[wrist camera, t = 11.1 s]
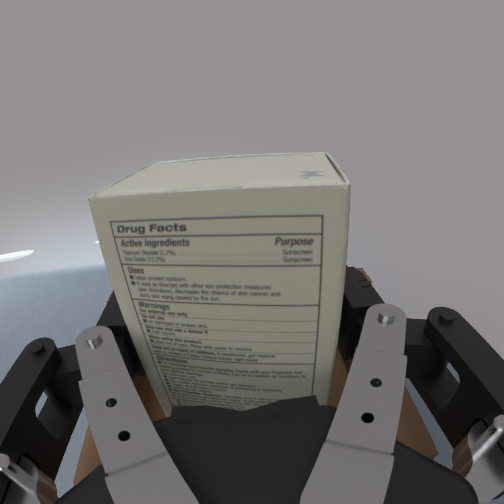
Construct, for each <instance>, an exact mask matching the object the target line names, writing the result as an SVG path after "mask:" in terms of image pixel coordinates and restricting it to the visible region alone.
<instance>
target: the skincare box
mask: <svg viewBox="0 0 504 504" xmlns="http://www.w3.org/2000/svg"><path fill="white" fill-rule="evenodd" d="M350 187H351V186H350V182H349V181H348V180H347V178H346V176H345V175H344V173H343V171H342V170H341V168H340V167H339V166H338V164H337V163H336V161H335V160H334V159H333V158H332V157H331V155H330V154H329V153H327V152H314V153H275V154H254V155H237V156H222V157H210V158H196V159H188V160H187V159H186V160H171V161H165V162H156V163H153V164H150V165H148V166H146V167H145V168H143V169H140V170H138V171H136V172H134V173H132V174H131V175H128V176H126V177H124V178H122V179H120V180H118V181H116V182H114V183H112V184H111V185H109V186H107V187H105V188H103V189H101V190H99V191H97V192H95V193H93V194H92V195H90V196H89V197H88V200H89V204H90V209H91V213H92V217H93V221H94V224H95V228H96V232H97V236H98V240H99V243H100V247H101V250H102V255H103V258H104V261H105V264H106V267H107V271H108V274H109V277H110V280H111V283H112V286H113V289H114V292H115V295H116V298H117V301H118V304H119V307H120V310H121V313H122V315H123V318H124V321H125V324H126V325H127V328H128V330H129V333H130V336H131V338H132V341H133V344H134V346H135V349H136V351H137V354H138V356H139V359H140V361H141V364H142V366H143V368H144V370H145V373H146V375H147V377H148V380H149V382H150V384H151V386H152V388H153V390H154V392H155V395H156V397H157V399H158V401H159V403H160V405H161V407H162V409H163V411H164V413H165V415H166V417H169V416H171V411H172V406H203V405H207V406H213V407H220V408H226V409H233V410H240V411H245V410H250V409H253V408H256V407H260V406H263V405H266V404H269V403H273V402H276V401H279V400H283V399H291V398H299V397H306V396H312V395H316V397H317V400H318V404H319V405H327V404H328V399H329V393H330V388H331V382H332V376H333V370H334V363H335V357H336V351H337V344H338V336H339V328H340V320H341V312H342V303H343V294H344V284H345V273H346V259H347V246H348V229H349V210H350Z"/></svg>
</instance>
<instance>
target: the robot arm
mask: <svg viewBox="0 0 504 504" xmlns="http://www.w3.org/2000/svg"><path fill="white" fill-rule="evenodd" d="M109 300H110V301H108V303H107V305H106V307H105V309H104V311H103V313H102V315H101V317H100V319H99V321H98V323H97V325H96V326H94V327H90V328H88V329H86V330H84V331H83V332H81V333H80V334H79V335H78V337H77V338H76V340H75V345H71V346H66V347H62V348H57V347H56V345H55V343H54V341H53V340H52V339H50V338H45V337H44V338H39V339H36V340H34V341H32V342H31V343H29V344H28V345H27V346H26V347H25V349H24V350H23V351H22V353H21V354H20V356H19V357H18V359H17V360H16V361H15V363H14V364H13V366H12V367H11V369H10V370H9V372H8V373H7V375H6V376H5V378H4V380H3V381H2V383H1V384H0V504H486V503H488V502H489V501H490V500H495V499H498V498H499V497H501V496H502V495H504V360H503V359H502V358H501V357H500V356H499V354H498V353H497V352H496V351H495V350H494V349H493V348H492V347H491V346H490V345H489V344H488V343H487V342H486V340H485V339H484V338H483V337H482V336H481V335H480V334H479V333H478V332H477V331H476V330H475V329H474V328H473V327H472V326H471V325H470V324H469V323H468V322H467V321H466V320H465V319H464V318H463V317H462V316H461V315H460V314H459V313H458V312H456V311H454V310H453V309H450V308H446V307H436V308H433V309H432V310H430V312H429V313H428V317H427V320H425V319H409V318H406V315H405V313H404V312H403V311H402V310H401V309H400V308H398V307H396V306H394V305H390V304H385V303H384V302H383V300H382V299H381V297H380V296H379V295H378V293H377V292H376V291H375V289H374V288H373V287H372V285H371V283H370V282H369V281H368V279H367V278H366V277H365V275H364V274H363V273H362V272H361V271H359V270H358V269H356V268H354V267H347V265H346V273H345V284H344V294H343V303H342V312H341V320H340V328H339V336H338V344H337V346H338V348H339V350H340V353H341V355H342V357H343V360H344V361H346V360H351V359H353V361H352V364H351V368H350V371H349V374H348V377H347V381H346V384H345V387H344V390H343V393H342V396H341V399H340V402H339V405H338V408H337V407H333V406H327V405H319V404H318V400H317V397H316V395H312V396H306V397H299V398H291V399H283V400H279V401H276V402H273V403H269V404H266V405H263V406H260V407H256V408H253V409H250V410H245V411H240V410H233V409H226V408H220V407H213V406H207V405H203V406H172V411H171V416H169V417H165V418H162V419H159V420H156V421H154V422H152V420H151V418H150V416H149V414H148V412H147V410H146V408H145V406H144V404H143V402H142V400H141V398H140V396H139V394H138V391H137V389H136V387H135V385H134V383H133V382H134V378H135V376H146V373H145V370H144V368H143V366H142V364H141V361H140V359H139V356H138V354H137V351H136V349H135V346H134V344H133V341H132V338H131V336H130V333H129V330H128V328H127V325H126V324H125V321H124V318H123V315H122V313H121V310H120V307H119V304H118V301H117V298H116V295H115V292H113V294H112V296H111V298H110V299H109ZM448 362H450V364H451V365H452V366H453V367H454V369H455V370H456V371H457V373H458V375H459V378H460V384H459V383H458V382H457V380H456V379H455V378H454V376H453V375H452V374H451V372H450V371H449V370H448V369H447V367H446V366H447V364H448ZM405 378H409V379H410V381H411V382H412V384H413V385H414V387H415V388H416V390H417V391H418V393H419V394H420V396H421V397H422V399H423V400H424V402H425V404H426V405H427V407H428V408H429V410H430V411H431V413H432V415H433V416H434V418H435V419H436V421H437V423H438V424H439V426H440V427H441V429H442V431H443V432H444V434H445V436H446V437H447V439H448V441H449V442H450V444H451V445H452V447H453V449H454V452H453V455H452V462H453V468H452V470H450V469H448V468H446V467H444V466H442V465H441V464H439V463H437V462H435V461H433V460H431V459H429V458H428V457H426V456H424V455H422V454H420V453H419V452H417V451H415V450H413V449H412V448H410V447H408V446H406V445H405V444H403V443H401V442H399V441H398V440H396V435H397V430H398V424H399V418H400V412H401V406H402V399H403V392H404V384H405ZM43 391H44V392H45V394H46V395H47V397H48V398H47V400H46V402H45V404H44V406H43V408H42V410H41V412H40V414H39V416H38V418H37V417H36V413H35V407H36V404H37V402H38V400H39V398H40V396H41V395H42V393H43ZM83 406H84V407H85V411H86V415H87V418H88V422H89V425H90V429H91V432H92V435H93V438H94V441H95V444H96V447H97V450H98V453H99V456H100V459H101V462H102V463H101V464H100V465H99V466H98V467H97V468H95V469H94V470H93V471H92V472H91V473H90V474H88V475H87V476H86V477H85V478H84V479H82V480H81V481H80V482H79V483H78V484H76V485H75V486H74V487H73V488H72V489H70V490H69V491H68V492H67V493H65V494H64V495H63V496H62V497H61V498H58V497H57V488H56V485H55V483H54V481H55V478H56V475H57V472H58V470H59V467H60V464H61V461H62V459H63V456H64V453H65V451H66V448H67V446H68V443H69V440H70V438H71V435H72V433H73V430H74V428H75V425H76V423H77V421H78V418H79V416H80V413H81V411H82V409H83Z"/></svg>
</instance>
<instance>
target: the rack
mask: <svg viewBox="0 0 504 504" xmlns="http://www.w3.org/2000/svg"><path fill="white" fill-rule="evenodd" d="M358 270H359V271H361V272H362V273H363V274H364V275H365V277H366V278H367V279H368V281H369V282H370V283H371V279H370V278H369V277H368V275H367V274H366V273H365V271H364V270H363V269H362V268H359V269H358ZM113 292H114V290H113ZM113 292H112V294H113ZM112 294H111V295H110V297H109V299H110V298H111V296H112ZM109 299H108V301H110V300H109ZM108 301H107V303H108ZM352 361H353V359H351V360H346V361H344V360H343V357H342V355H341V353H340V350H339V348H338V346H337V351H336V357H335V363H334V370H333V376H332V382H331V388H330V393H329V399H328V404H327V406H333V407H337V408H338V405H339V402H340V399H341V396H342V393H343V390H344V387H345V384H346V381H347V377H348V374H349V371H350V368H351V364H352ZM133 383H134V385H135V387H136V389H137V391H138V394H139V396H140V398H141V400H142V402H143V404H144V406H145V408H146V410H147V412H148V414H149V416H150V418H151V420H152V422H154V421H156V420H159V419H162V418H165V417H166V415H165V413H164V411H163V409H162V407H161V405H160V403H159V401H158V399H157V397H156V395H155V392H154V390H153V388H152V386H151V384H150V382H149V380H148V377H147V375H146V376H135V378H134V382H133ZM396 440H398V441H399V442H401V443H403V444H405V445H406V446H408V447H410V448H412V449H413V450H415V451H417V452H419V453H420V454H422V455H424V456H426V457H428V458H429V459H431V460H433V459H434V457H435V456H436V455H437V454H438V451H437V449H436V447H435V445H434V443H433V441H432V439H431V436H430V434H429V432H428V430H427V428H426V426H425V424H424V422H423V420H422V418H421V416H420V414H419V412H418V410H417V408H416V406H415V404H414V402H413V401H412V399H411V397H410V395H409V393H408V391H407V389H406V387H405V385H404V392H403V399H402V406H401V412H400V418H399V424H398V430H397V435H396ZM101 463H102V462H101V459H100V456H99V453H98V450H97V447H96V444H95V441H94V438H93V435H92V432H91V429H90V425H89V426H88V429H87V433H86V436H85V440H84V443H83V447H82V451H81V454H80V458H79V462H78V466H77V470H76V474H75V478H74V482H73V483H74V484H75V485H76V484H78V483H79V482H80V481H81V480H82V479H84V478H85V477H86V476H87V475H88V474H90V473H91V472H92V471H93V470H94V469H95V468H97V467H98V466H99V465H100V464H101Z"/></svg>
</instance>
